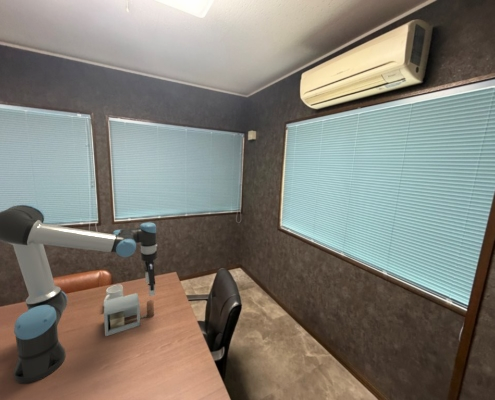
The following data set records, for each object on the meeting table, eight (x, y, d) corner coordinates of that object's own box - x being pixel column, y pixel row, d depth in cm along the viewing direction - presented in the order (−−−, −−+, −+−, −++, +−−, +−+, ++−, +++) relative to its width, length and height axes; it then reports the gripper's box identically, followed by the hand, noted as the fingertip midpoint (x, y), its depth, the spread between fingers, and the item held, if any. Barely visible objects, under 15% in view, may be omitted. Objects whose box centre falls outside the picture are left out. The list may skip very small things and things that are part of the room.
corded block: (110, 331, 108) (109, 316, 106) (110, 323, 113) (109, 309, 111) (154, 317, 118) (154, 304, 117) (153, 311, 123) (152, 298, 122)
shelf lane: (105, 336, 104) (103, 313, 102) (105, 321, 114) (104, 300, 112) (140, 325, 112) (139, 304, 110) (138, 312, 122) (137, 292, 120)
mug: (110, 314, 119) (109, 297, 117) (97, 311, 121) (96, 294, 119) (126, 301, 131) (126, 286, 129) (115, 299, 132) (114, 283, 131)
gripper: (161, 259, 106) (161, 299, 109) (152, 243, 126) (153, 276, 130) (144, 262, 102) (145, 303, 105) (138, 245, 123) (139, 279, 126)
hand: (150, 288), depth 118 cm, fingers open, 13 cm apart
